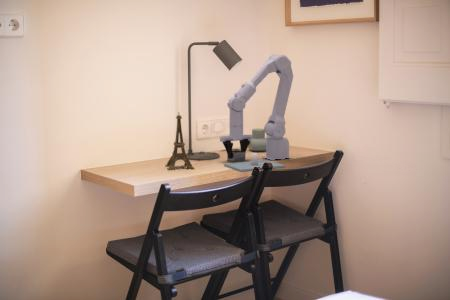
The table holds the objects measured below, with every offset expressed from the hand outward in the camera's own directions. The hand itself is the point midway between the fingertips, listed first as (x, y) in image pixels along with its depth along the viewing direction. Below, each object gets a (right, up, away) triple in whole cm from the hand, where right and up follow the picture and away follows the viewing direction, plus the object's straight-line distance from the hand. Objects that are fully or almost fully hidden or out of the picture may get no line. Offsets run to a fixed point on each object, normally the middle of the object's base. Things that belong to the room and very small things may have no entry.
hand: (236, 157), depth 283 cm
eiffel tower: (-23, -4, -14) cm, 27 cm away
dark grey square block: (0, -1, 0) cm, 1 cm away
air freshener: (+11, +3, +27) cm, 29 cm away
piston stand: (+7, -3, -13) cm, 15 cm away
